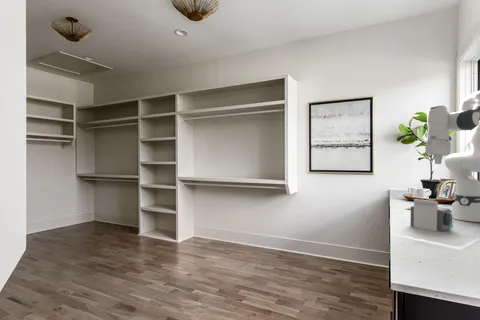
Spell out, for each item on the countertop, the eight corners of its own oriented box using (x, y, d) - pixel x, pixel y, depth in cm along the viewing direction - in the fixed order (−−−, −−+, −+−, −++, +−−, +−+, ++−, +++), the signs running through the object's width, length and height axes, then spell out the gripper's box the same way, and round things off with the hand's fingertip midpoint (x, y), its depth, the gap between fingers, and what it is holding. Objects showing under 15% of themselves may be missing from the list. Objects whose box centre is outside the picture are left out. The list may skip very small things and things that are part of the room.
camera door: (414, 226, 145) (414, 199, 145) (437, 230, 137) (437, 201, 136) (412, 227, 144) (413, 199, 143) (435, 231, 136) (436, 202, 135)
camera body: (418, 225, 152) (418, 204, 152) (453, 231, 139) (453, 209, 139) (410, 227, 146) (410, 206, 146) (446, 234, 134) (446, 211, 134)
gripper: (435, 134, 138) (436, 163, 138) (453, 138, 150) (453, 164, 149) (421, 135, 143) (421, 163, 143) (439, 139, 155) (439, 164, 154)
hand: (438, 164), depth 146 cm, fingers closed
